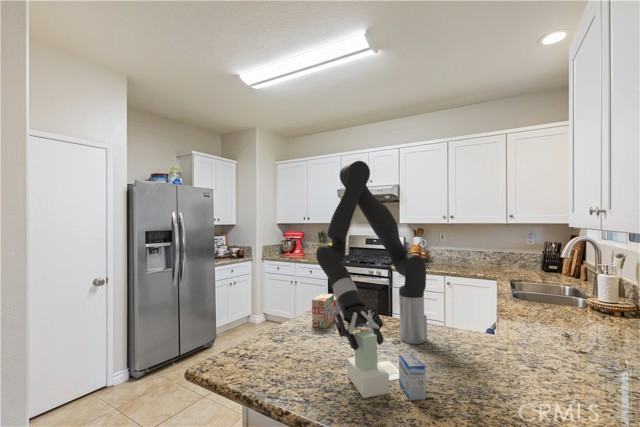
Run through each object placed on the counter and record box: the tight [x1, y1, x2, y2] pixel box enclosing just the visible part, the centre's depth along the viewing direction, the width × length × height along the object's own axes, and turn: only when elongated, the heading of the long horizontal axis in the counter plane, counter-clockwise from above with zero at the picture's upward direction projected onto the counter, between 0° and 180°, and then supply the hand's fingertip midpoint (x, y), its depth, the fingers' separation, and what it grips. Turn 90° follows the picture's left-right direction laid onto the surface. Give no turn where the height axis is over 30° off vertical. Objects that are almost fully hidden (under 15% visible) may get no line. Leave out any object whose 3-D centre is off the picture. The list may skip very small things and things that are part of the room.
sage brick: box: [354, 329, 378, 371], centre depth 84 cm, size 4×4×9 cm
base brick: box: [346, 356, 390, 399], centre depth 84 cm, size 8×12×5 cm, turn 15°
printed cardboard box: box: [311, 292, 342, 329], centre depth 140 cm, size 21×6×12 cm, turn 158°
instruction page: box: [377, 360, 399, 382], centre depth 91 cm, size 8×11×1 cm
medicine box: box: [398, 352, 427, 401], centre depth 80 cm, size 8×4×9 cm, turn 5°
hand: (369, 346), depth 83 cm, fingers open, 8 cm apart
